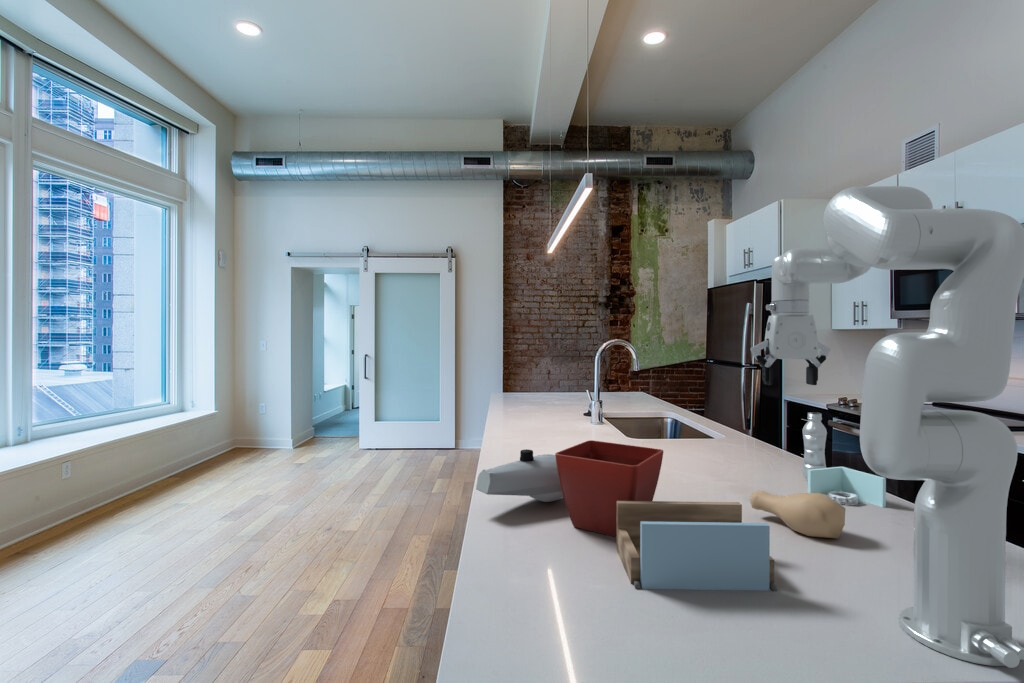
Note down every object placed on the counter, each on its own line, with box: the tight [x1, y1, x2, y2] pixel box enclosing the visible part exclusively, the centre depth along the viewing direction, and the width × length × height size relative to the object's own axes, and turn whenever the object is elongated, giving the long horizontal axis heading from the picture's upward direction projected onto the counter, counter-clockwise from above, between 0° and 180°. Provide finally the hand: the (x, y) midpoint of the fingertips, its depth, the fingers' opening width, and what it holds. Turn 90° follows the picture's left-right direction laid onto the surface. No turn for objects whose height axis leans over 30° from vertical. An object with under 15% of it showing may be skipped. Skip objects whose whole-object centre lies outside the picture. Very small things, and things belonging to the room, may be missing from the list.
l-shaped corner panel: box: [807, 466, 887, 508], centre depth 130 cm, size 12×12×8 cm
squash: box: [749, 490, 846, 539], centre depth 112 cm, size 11×20×9 cm, turn 32°
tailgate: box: [640, 521, 771, 591], centre depth 84 cm, size 1×21×11 cm, turn 88°
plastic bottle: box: [801, 412, 828, 480], centre depth 150 cm, size 6×7×20 cm
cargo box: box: [615, 500, 778, 592], centre depth 92 cm, size 16×24×10 cm
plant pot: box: [554, 440, 664, 538], centre depth 114 cm, size 19×19×17 cm
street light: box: [475, 449, 564, 503], centre depth 128 cm, size 30×16×14 cm, turn 127°
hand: (789, 384), depth 114 cm, fingers open, 9 cm apart
